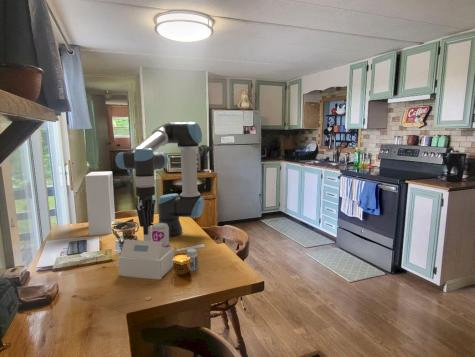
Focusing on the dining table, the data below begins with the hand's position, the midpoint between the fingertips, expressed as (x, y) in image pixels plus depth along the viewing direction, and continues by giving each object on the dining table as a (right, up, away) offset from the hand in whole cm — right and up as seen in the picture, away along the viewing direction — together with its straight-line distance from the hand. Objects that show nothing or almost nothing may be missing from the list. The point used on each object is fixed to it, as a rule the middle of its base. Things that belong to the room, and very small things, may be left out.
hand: (147, 241), depth 127 cm
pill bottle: (+18, -13, +2) cm, 23 cm away
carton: (0, -13, +1) cm, 13 cm away
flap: (-1, -2, -5) cm, 6 cm away
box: (-46, -5, +60) cm, 76 cm away
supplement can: (+1, -11, +18) cm, 21 cm away
